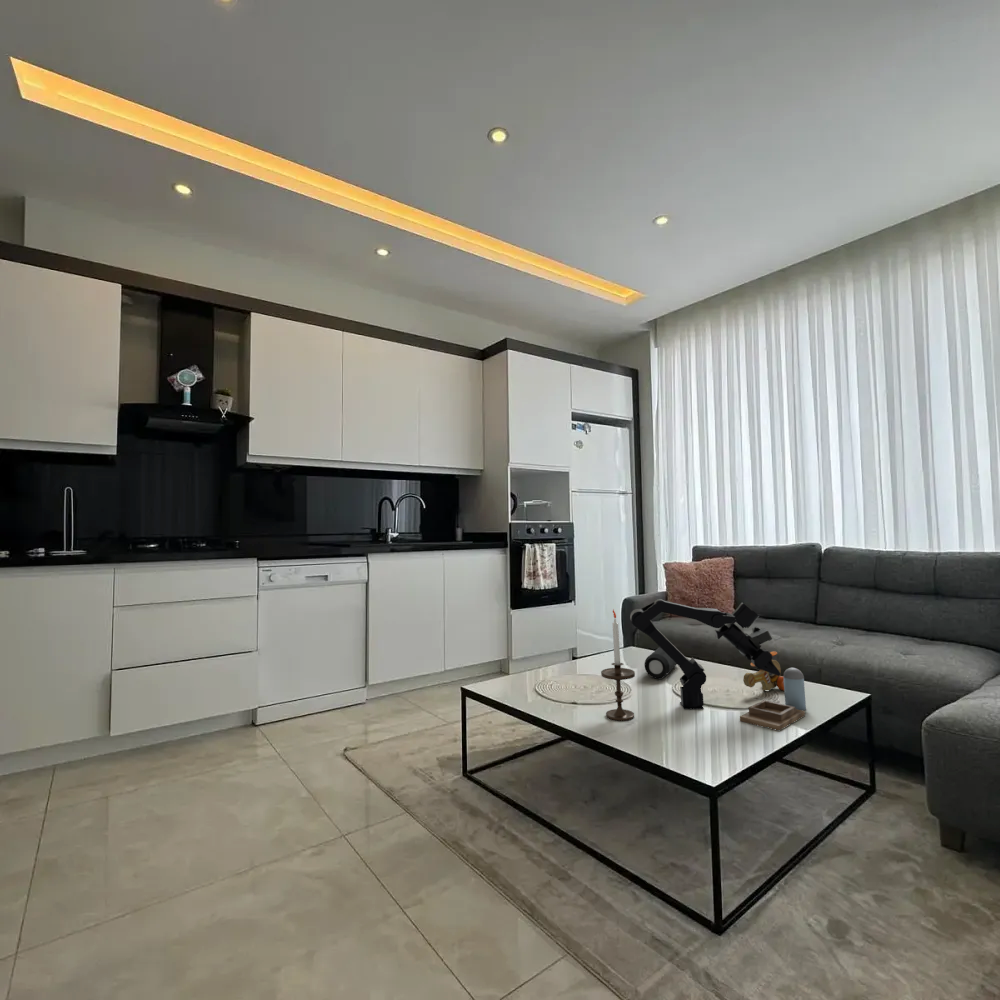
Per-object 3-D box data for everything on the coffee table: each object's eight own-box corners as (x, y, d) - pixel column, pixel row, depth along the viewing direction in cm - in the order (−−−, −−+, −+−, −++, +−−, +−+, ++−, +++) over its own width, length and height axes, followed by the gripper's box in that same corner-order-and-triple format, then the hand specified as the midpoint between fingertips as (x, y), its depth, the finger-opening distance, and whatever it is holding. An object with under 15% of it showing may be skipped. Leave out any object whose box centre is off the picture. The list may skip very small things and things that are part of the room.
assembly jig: (779, 731, 164) (778, 719, 164) (740, 721, 173) (739, 709, 174) (805, 715, 176) (804, 704, 176) (766, 707, 185) (766, 696, 185)
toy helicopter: (790, 688, 203) (788, 651, 204) (757, 700, 192) (755, 660, 192) (769, 684, 210) (767, 647, 211) (736, 695, 199) (734, 656, 199)
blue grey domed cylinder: (789, 710, 181) (787, 670, 181) (782, 704, 187) (779, 665, 187) (809, 710, 180) (806, 670, 181) (801, 704, 186) (798, 665, 187)
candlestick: (597, 714, 185) (592, 608, 187) (624, 709, 189) (619, 605, 191) (614, 724, 175) (609, 612, 177) (643, 718, 179) (638, 609, 180)
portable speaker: (659, 664, 246) (657, 641, 246) (682, 666, 241) (680, 643, 241) (643, 679, 224) (642, 654, 224) (668, 681, 219) (667, 656, 219)
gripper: (763, 626, 177) (802, 660, 175) (746, 616, 196) (782, 647, 193) (739, 651, 178) (778, 685, 176) (724, 639, 196) (759, 670, 194)
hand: (774, 671), depth 185 cm, fingers open, 9 cm apart
